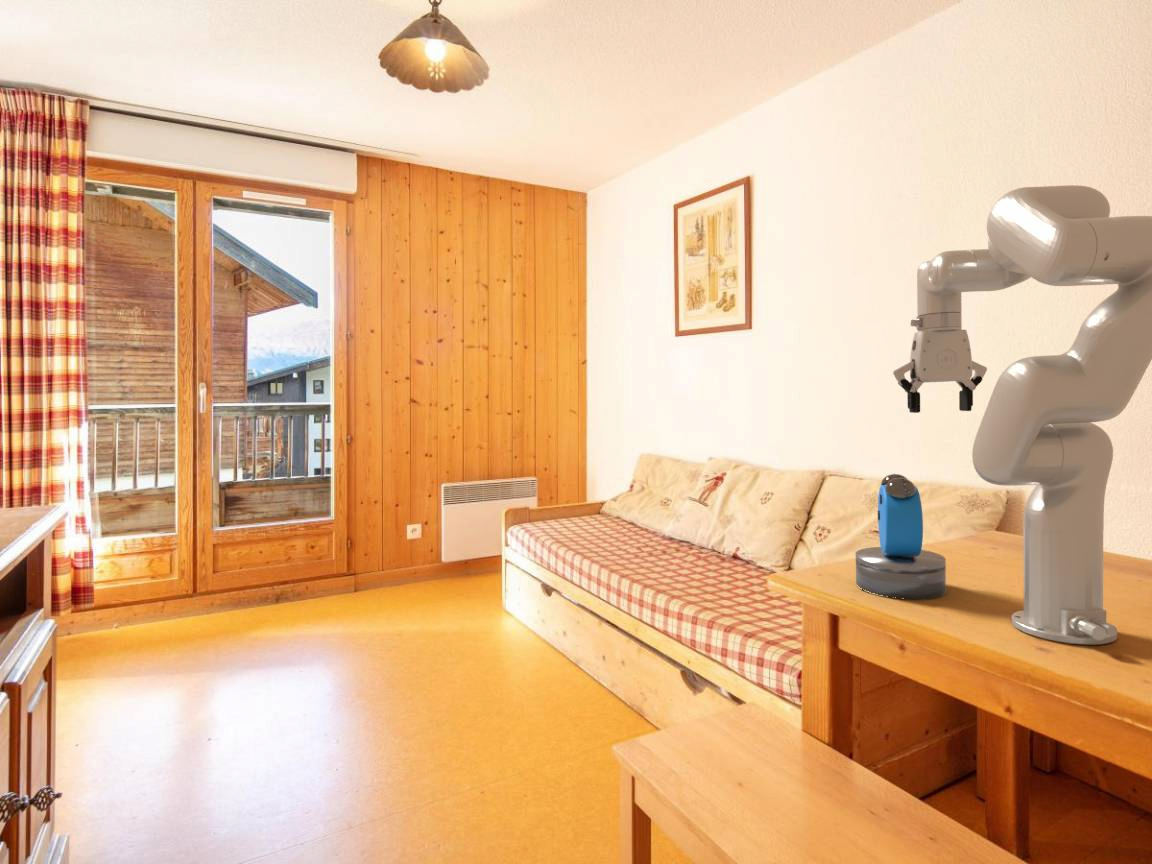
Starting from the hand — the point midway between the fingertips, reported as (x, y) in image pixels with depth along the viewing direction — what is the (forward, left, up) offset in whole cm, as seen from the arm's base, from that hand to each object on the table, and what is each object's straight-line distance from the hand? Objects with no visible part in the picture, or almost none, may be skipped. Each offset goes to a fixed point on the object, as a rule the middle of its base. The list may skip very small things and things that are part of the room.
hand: (940, 411), depth 127 cm
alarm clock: (-9, +12, -27) cm, 30 cm away
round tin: (-9, +12, -32) cm, 36 cm away
